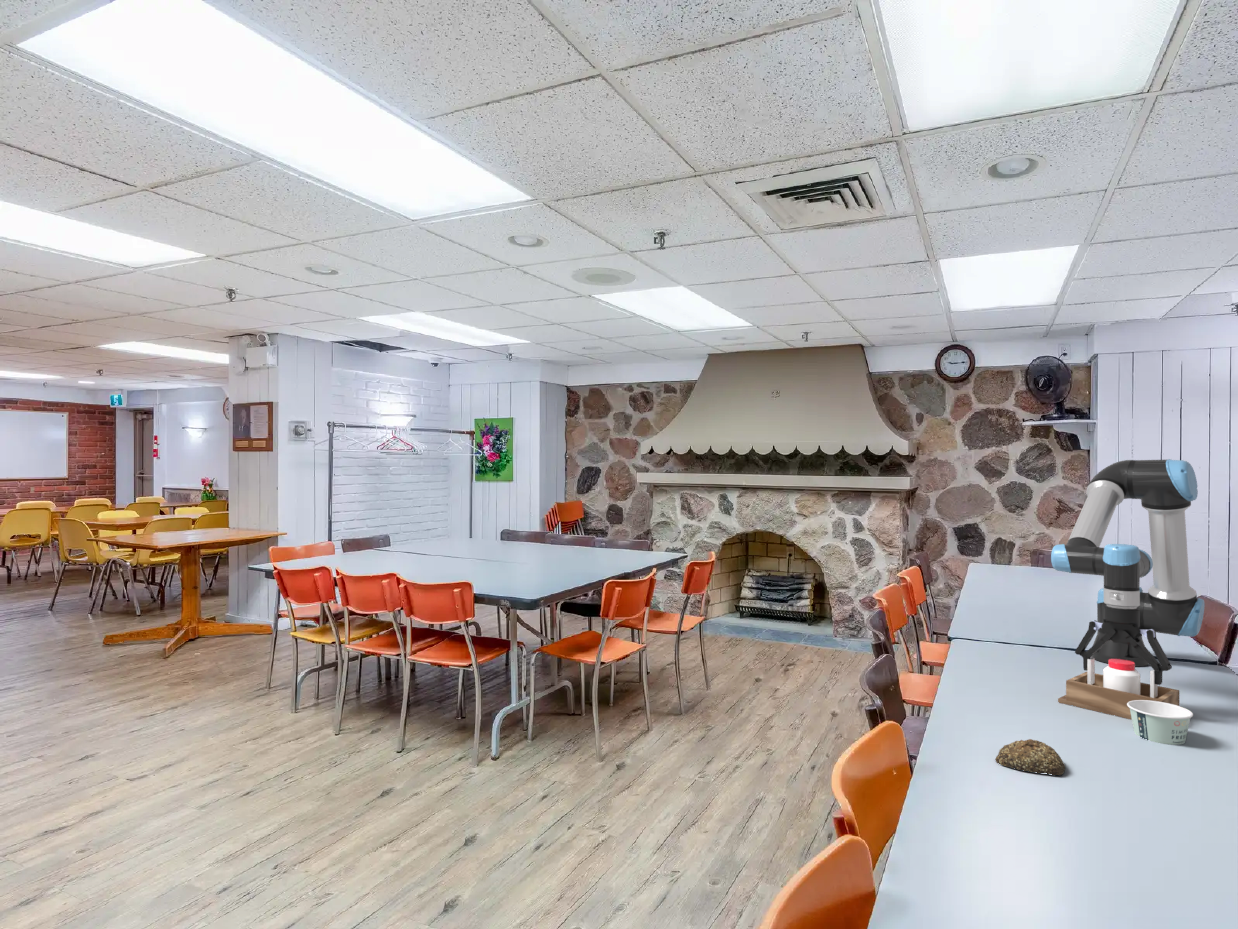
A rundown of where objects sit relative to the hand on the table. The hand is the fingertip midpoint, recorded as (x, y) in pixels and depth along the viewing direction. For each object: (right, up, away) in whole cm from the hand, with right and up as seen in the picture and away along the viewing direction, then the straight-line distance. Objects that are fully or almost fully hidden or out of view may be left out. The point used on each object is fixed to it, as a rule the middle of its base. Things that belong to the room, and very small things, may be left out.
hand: (1121, 690), depth 182 cm
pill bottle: (0, -4, 0) cm, 4 cm away
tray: (0, -5, 0) cm, 5 cm away
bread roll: (-42, -5, -33) cm, 53 cm away
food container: (-4, -5, -19) cm, 20 cm away
